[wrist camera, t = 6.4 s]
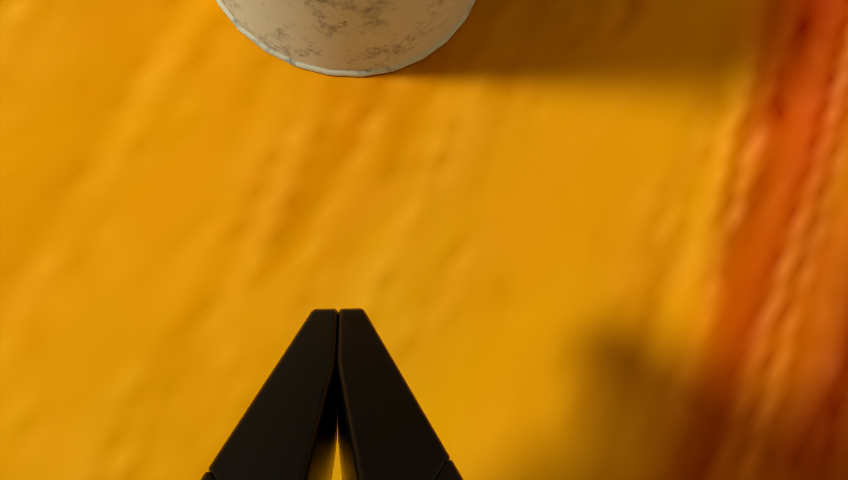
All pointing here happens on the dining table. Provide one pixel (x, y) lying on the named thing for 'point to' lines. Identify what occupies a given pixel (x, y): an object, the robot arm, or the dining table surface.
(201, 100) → the dining table surface
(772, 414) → the dining table surface
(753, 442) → the dining table surface
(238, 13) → the grey stubby cylinder
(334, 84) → the dining table surface
